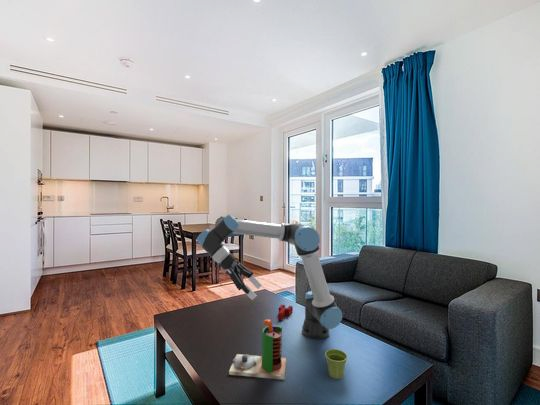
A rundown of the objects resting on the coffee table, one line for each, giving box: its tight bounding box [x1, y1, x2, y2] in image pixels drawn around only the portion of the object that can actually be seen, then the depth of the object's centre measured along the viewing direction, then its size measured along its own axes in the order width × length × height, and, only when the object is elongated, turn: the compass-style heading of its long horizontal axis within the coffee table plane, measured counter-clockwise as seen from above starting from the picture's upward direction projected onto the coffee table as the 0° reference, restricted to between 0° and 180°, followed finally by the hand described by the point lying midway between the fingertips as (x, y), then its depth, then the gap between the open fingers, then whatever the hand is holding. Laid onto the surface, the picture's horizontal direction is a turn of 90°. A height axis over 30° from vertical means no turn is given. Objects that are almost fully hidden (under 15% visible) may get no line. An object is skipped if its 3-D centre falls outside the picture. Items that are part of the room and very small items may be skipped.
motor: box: [261, 318, 283, 373], centre depth 123 cm, size 10×9×20 cm
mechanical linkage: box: [277, 304, 293, 321], centre depth 178 cm, size 16×7×5 cm, turn 158°
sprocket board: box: [228, 353, 287, 380], centre depth 125 cm, size 24×13×4 cm, turn 82°
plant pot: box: [324, 348, 348, 380], centre depth 120 cm, size 9×9×9 cm
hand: (257, 292), depth 124 cm, fingers open, 13 cm apart
